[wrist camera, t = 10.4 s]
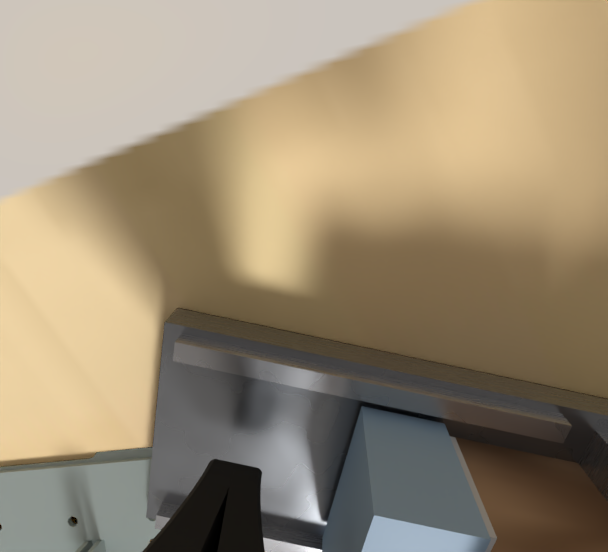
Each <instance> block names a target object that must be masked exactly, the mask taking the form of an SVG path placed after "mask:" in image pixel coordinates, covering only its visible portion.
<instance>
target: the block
mask: <svg viewBox="0 0 608 552" xmlns="http://www.w3.org/2000/svg"><path fill="white" fill-rule="evenodd" d="M450 437H452V436H450ZM455 438H456V440H457V443H458V445H459V448H460V450H461V452H462V455H463V457H464V460H465V462H466V464H467V467H468V469H469V472H470V474H471V476H472V479H473V481H474V484H475V486H476V488H477V491H478V493H479V496H480V498H481V500H482V503H483V505H484V508H485V510H486V512H487V515H488V517H489V520H490V522H491V524H492V527H493V529H494V532H495V534H496V536H497V540H496V542H495V544H494V546H493V548H492V550H491V552H608V502H607V500H606V499H605V498H604V496H603V495H602V494H601V493H600V491H599V490H598V489H597V487H596V486H595V485H594V483H593V482H592V481H591V479H590V478H589V477H588V476H587V474H586V473H585V472H584V470H583V469H582V468H581V466H580V465H579V464H578V463H575V462H571V461H566V460H561V459H556V458H552V457H547V456H542V455H537V454H533V453H528V452H523V451H519V450H514V449H509V448H504V447H500V446H495V445H490V444H485V443H481V442H476V441H471V440H466V439H462V438H457V437H455Z"/></svg>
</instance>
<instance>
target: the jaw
mask: <svg viewBox="0 0 608 552" xmlns="http://www.w3.org/2000/svg"><path fill="white" fill-rule="evenodd" d="M496 540H497V536H496V534H495V532H494V529H493V527H492V524H491V522H490V520H489V517H488V515H487V512H486V510H485V508H484V505H483V503H482V500H481V498H480V496H479V493H478V491H477V488H476V486H475V484H474V481H473V479H472V476H471V474H470V472H469V469H468V467H467V464H466V462H465V460H464V457H463V455H462V452H461V450H460V448H459V445H458V443H457V440H456V438H455V437H450V436H449V433H448V431H447V428H446V426H445V424H444V423H440V422H435V421H430V420H425V419H421V418H416V417H411V416H407V415H402V414H397V413H392V412H388V411H383V410H378V409H373V408H369V407H364V406H361V410H360V413H359V417H358V420H357V423H356V427H355V430H354V433H353V437H352V440H351V443H350V447H349V450H348V453H347V457H346V460H345V463H344V467H343V470H342V474H341V477H340V480H339V484H338V487H337V490H336V494H335V497H334V500H333V504H332V507H331V510H330V514H329V517H328V520H327V524H326V527H325V530H324V534H323V537H322V552H491V550H492V548H493V546H494V544H495V542H496Z"/></svg>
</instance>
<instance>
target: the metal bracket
mask: <svg viewBox="0 0 608 552" xmlns="http://www.w3.org/2000/svg"><path fill="white" fill-rule="evenodd" d="M152 450H153V447H148V448H138V449H128V450H118V451H107V452H97V453H96V454H95V456H94V457H92V458H90V459H79V460H68V461H57V462H47V463H36V464H25V465H14V466H4V467H0V524H1V526H2V529H0V552H142V551H143V550H144V549H145V548H146V547H147V546H148V544H149V543H150V539H153V538H155V536H156V535H157V534H158V533H159V532H160V531H161V530H159V529H155V523H156V519H151V518H146V513H147V502H148V492H149V481H150V471H151V460H152ZM71 516H73V517H75V518H76V519H77V521H78V523H77V524H76V523H73V522H72V520H71Z"/></svg>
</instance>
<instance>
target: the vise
mask: <svg viewBox="0 0 608 552" xmlns="http://www.w3.org/2000/svg"><path fill="white" fill-rule="evenodd" d="M361 406H364V407H369V408H373V409H378V410H383V411H388V412H392V413H397V414H402V415H407V416H411V417H416V418H421V419H425V420H430V421H435V422H440V423H444V424H445V426H446V428H447V431H448V433H449V436H452V437H457V438H462V439H466V440H471V441H476V442H481V443H485V444H490V445H495V446H500V447H504V448H509V449H514V450H519V451H523V452H528V453H533V454H537V455H542V456H547V457H552V458H556V459H561V460H566V461H571V462H575V463H578V464H579V465H580V466H581V468H582V469H583V470H584V472H585V473H586V474H587V476H588V477H589V478H590V479H591V481H592V482H593V483H594V485H595V486H596V487H597V489H598V490H599V491H600V493H601V494H602V495H603V496H604V498H605V499H606V500H607V502H608V399H605V398H600V397H596V396H591V395H586V394H581V393H577V392H572V391H567V390H563V389H558V388H553V387H548V386H544V385H539V384H534V383H529V382H525V381H520V380H515V379H511V378H506V377H501V376H496V375H492V374H487V373H482V372H478V371H473V370H468V369H463V368H459V367H454V366H449V365H445V364H440V363H435V362H430V361H426V360H421V359H416V358H411V357H407V356H402V355H397V354H393V353H388V352H383V351H378V350H374V349H369V348H364V347H360V346H355V345H350V344H345V343H341V342H336V341H331V340H327V339H322V338H317V337H312V336H308V335H303V334H298V333H293V332H289V331H284V330H279V329H275V328H270V327H265V326H260V325H256V324H251V323H246V322H242V321H237V320H232V319H227V318H223V317H218V316H213V315H209V314H204V313H199V312H194V311H190V310H185V309H180V308H177V309H176V310H175V311H174V312H173V314H172V315H171V316H170V317H169V318H168V319H167V320H166V321H165V324H164V335H163V345H162V356H161V366H160V377H159V387H158V398H157V408H156V418H155V429H154V439H153V450H152V460H151V471H150V481H149V492H148V502H147V513H146V518H151V519H156V523H155V529H159V530H161V529H162V528H163V527H164V526H165V525H166V523H167V522H168V521H169V519H170V518H171V517H172V516H173V514H174V513H175V512H176V511H177V509H178V508H179V507H180V505H181V504H182V503H183V502H184V500H185V499H186V497H187V496H188V495H189V493H190V492H191V490H192V489H193V488H194V486H195V485H196V483H197V482H198V480H199V479H200V477H201V476H202V474H203V472H204V471H205V469H206V467H207V466H208V464H209V462H210V461H211V460H213V459H219V460H223V461H228V462H233V463H238V464H242V465H247V466H252V467H256V468H259V469H260V470H261V471H262V477H261V494H260V495H261V521H262V532H263V541H264V550H265V552H322V537H323V534H324V530H325V527H326V524H327V520H328V517H329V514H330V510H331V507H332V504H333V500H334V497H335V494H336V490H337V487H338V484H339V480H340V477H341V474H342V470H343V467H344V463H345V460H346V457H347V453H348V450H349V447H350V443H351V440H352V437H353V433H354V430H355V427H356V423H357V420H358V417H359V413H360V410H361Z"/></svg>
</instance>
